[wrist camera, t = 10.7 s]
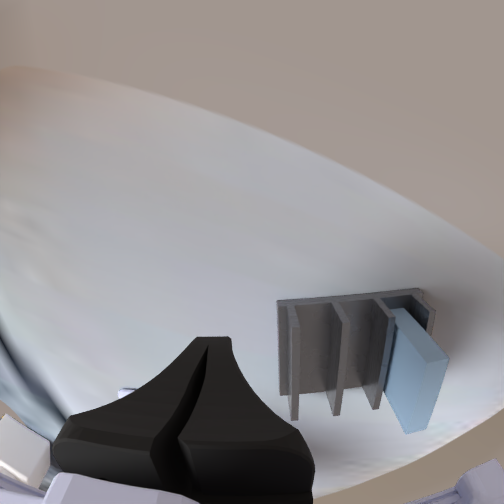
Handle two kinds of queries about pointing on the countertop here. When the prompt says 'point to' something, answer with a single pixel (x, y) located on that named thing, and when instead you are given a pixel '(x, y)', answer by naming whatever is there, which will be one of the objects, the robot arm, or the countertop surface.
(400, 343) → the panel
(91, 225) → the countertop surface
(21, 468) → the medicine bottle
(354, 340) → the rack
